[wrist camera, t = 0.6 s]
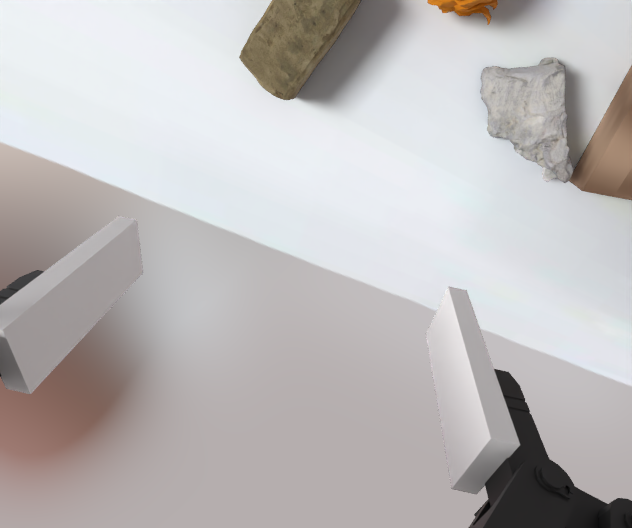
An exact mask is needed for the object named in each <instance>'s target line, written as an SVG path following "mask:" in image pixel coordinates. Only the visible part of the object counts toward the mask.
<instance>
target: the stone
mask: <svg viewBox="0 0 632 528" xmlns="http://www.w3.org/2000/svg"><path fill="white" fill-rule="evenodd" d="M481 80H482V87H481V91H480V92H481V95H482V98H481V99H482V100H483V102H484V103H485V104H486V106H487V109H488V127H487V131H488V133H489V134H490V136H492V137H495V138H498V137H503V138H505V139H510V141H511V142H512V143H513V145H514V149H515V151H516V152H517V153H519V154H520V155H521V156H523V157H524V158H525V159H527V160H531V161H532V162H536V163H537V164H538V165H540V166H541V167H542V168H543V171H542V176H543V179H544V180H545V181H546V182H548V181H549V180H551V179H553V178H558V179H559V180H561V181H562V182H564V183H566V182H568V181H569V180H570V178H571V175H572V173H573V167H572V164H571V161H570V157H569V156H568V153H569V147H568V146H567V141H568V140H567V139H566V138H567V131H566V128H567V127H566V121H567V117H568V116H567V114H566V110H565V84H566V82H565V66H563V65H560V64H559V63H558V60H557V59H556V58H549V57H547V58H544V59H542V60H541V62H540V64H539V65H538V66H532V67H519V68H511V69H507V68H500V67H497V66H492V67H486V68H485V69H483V71H482V74H481Z"/></svg>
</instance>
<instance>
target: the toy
mask: <svg viewBox="0 0 632 528" xmlns="http://www.w3.org/2000/svg"><path fill="white" fill-rule="evenodd" d="M428 3H429V4H431V5H437V6H438V7H439V9H441V10H442V13H448V12H452V11H455V13H457V14H458V15H459V16H470V15H471V14H472V13H482V14H483V15H484V16H485V17H486V18H487V21H488V24H489V23H490V19H491V15H490V13H489V10H488V9H487V8H486V7H484V6H487V5H490V6H492V7H493V10H494V9H495V8H496V7H497V5H498V2H497V0H428Z"/></svg>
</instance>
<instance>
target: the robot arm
mask: <svg viewBox="0 0 632 528" xmlns="http://www.w3.org/2000/svg"><path fill="white" fill-rule="evenodd" d="M142 274H143V266H142V258H141V249H140V242H139V233H138V224H137V219H132V218H127V217H123V216H118V217H117V218H115V219H114V220H113V221H111V222H110V223H109V224H107V225H106V226H105V227H103V228H102V229H101V230H99V231H98V232H97V233H95V234H94V235H93V236H91V237H90V238H89V239H87V240H86V241H85V242H83V243H82V244H81V245H79V246H78V247H77V248H75V249H74V250H73V251H71V252H70V253H69V254H67V255H66V256H65V257H63V258H62V259H61V260H60V261H58V262H57V263H55V264H54V265H53V266H51V267H50V268H49V269H47V270H46V271H45V272H44V271H39V270H37V271H34V272H31V273H29V274H27V275H24V276H22V277H20V278H18V279H17V280H15V281H14V282H13V283H11V284H10V285H8V286H7V288H6V289H3V290H1V291H0V377H1V379H2V381H3V383H4V385H5V387H6V389H10V390H14V391H19V392H23V393H28V394H31V393H32V392H33V391H34V390H35V389H36V388H37V386H38V385H39V384H40V383H41V382H42V381H43V380H44V379H45V378H46V376H48V375H49V373H50V372H51V371H52V370H53V369H54V368H55V367H56V366H57V365H58V364H59V363H60V362H61V361H62V360H63V359H64V358H65V356H66V355H67V354H68V353H69V352H70V351H71V350H72V349H73V348H74V347H75V346H76V345H77V343H78V342H79V341H80V340H81V339H82V338H83V337H84V336H85V335H86V334H87V333H88V332H89V331H90V330H91V328H92V327H93V326H94V325H95V324H96V323H97V322H98V321H99V320H100V318H102V317H103V315H104V314H105V313H106V312H107V311H108V310H109V309H110V308H111V307H112V306H113V305H114V304H115V303H116V302H117V300H118V299H119V298H120V297H121V296H122V295H123V294H124V293H125V292H126V291H127V290H128V289H129V288H130V287H131V285H132V284H133V283H134V282H135V281H136V280H137V279H138V278H139V277H140V276H141V275H142ZM426 338H427V344H428V350H429V356H430V362H431V368H432V374H433V380H434V386H435V392H436V398H437V404H438V410H439V416H440V422H441V428H442V434H443V440H444V446H445V453H446V459H447V464H448V471H449V476H450V483H451V489H454V490H459V491H463V492H468V493H472V494H477V493H478V492H479V491H480V490H481V489H482V488H483V487H484V486H486V490H487V494H488V498H489V499H488V500H487V501H486V502H485V504H484V505H483V506H482V507H481V508H480V509H479V510H478V511H477V512H476V513H475V516H476V517H475V519H474V520H473V522H472V524H471V525H470V527H469V528H632V501H631V500H628V499H623V498H617V499H616V500H614V501H612V502H611V503H609V504H607V503H605V502H602V501H601V500H599V499H597V498H595V497H593V496H591V495H589V494H587V493H585V492H583V491H582V490H580V489H578V488H576V487H575V486H574V484H573V482H572V480H571V479H570V477H569V476H568V474H567V473H566V472H565V471H564V470H563V469H562V468H561V467H560V466H559V465H558V464H556V463H555V462H553V461H551V460H550V459H549V457H548V455H547V453H546V451H545V448H544V445H543V443H542V440H541V438H540V435H539V433H538V430H537V428H536V425H535V423H534V420H533V418H532V415H531V414H530V413H529V412H530V411H529V408H528V405H527V403H526V402H525V398H524V395H523V393H522V391H521V388H520V386H519V384H518V383H517V382H516V381H515V379H514V378H513V377H512V376H511V374H510V373H509V372H506V371H501V370H496V369H494V368H493V365H492V362H491V359H490V356H489V353H488V350H487V348H486V345H485V342H484V339H483V336H482V334H481V330H480V327H479V325H478V322H477V319H476V316H475V313H474V310H473V307H472V304H471V302H470V299H469V296H468V293H467V290H462V289H458V288H453V287H448V288H447V290H446V292H445V294H444V297H443V299H442V301H441V303H440V305H439V307H438V309H437V311H436V314H435V316H434V318H433V320H432V322H431V324H430V326H429V329H428V331H427V333H426Z"/></svg>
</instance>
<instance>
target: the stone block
mask: <svg viewBox="0 0 632 528" xmlns="http://www.w3.org/2000/svg"><path fill="white" fill-rule="evenodd" d="M360 1H361V0H272V2H271V3H270V5H269V6H268V8H267V10H266V12H265V13H264V15H263V17H262V18H261V20H260V21H259V22H258V24H257V25H256V27H255V28H254V30H253V31H252V33H251V35H250V36H249V39H248V41H247V43H246V44H245V46H244V48H243V49H242V51H241V55H240V57H239V58H240V59H241V61H242V62H243V64H244V65H245V66H246V67H247V69H248V70H249V71H250V72H251V73H252V74H253V75H254V76H255V78H256V79H257V81H258V82H259V84H260V85H261V86H262V87H263V88H264V89H265V90H266V91H268V92H269V93H271V94H272V95H274V96H276V97H278V98H280V99H283V100H290V99H294V98H295V97H296V95H297V94H298V92H299V91H300V89H301V88H302V86H303V85H304V84H305V82H306V81H307V79H308V78H309V77H310V75H311V74H312V72H313V71H314V69H315V68H316V66H317V65H318V63H319V62H320V61H321V60H322V59H323V57H324V56H325V55H326V53H327V52H328V51H329V50H330V48H331V47H332V46H333V44H334V43H335V42H336V40H337V38H338V37H339V35H340V33H341V32H342V30H343V29H344V27H345V26H346V24H347V23H348V21H349V20H350V18H351V17H352V15H353V14H354V12H355V11H356V9H357V7H358V6H359V3H360Z"/></svg>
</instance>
